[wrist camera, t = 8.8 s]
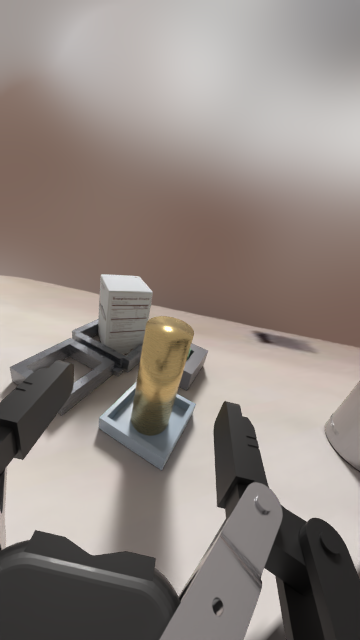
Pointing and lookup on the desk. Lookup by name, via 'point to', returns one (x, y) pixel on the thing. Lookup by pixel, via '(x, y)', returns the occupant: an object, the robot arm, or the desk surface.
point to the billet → (160, 373)
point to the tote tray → (147, 447)
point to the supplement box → (123, 311)
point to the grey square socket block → (193, 365)
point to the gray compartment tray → (86, 353)
